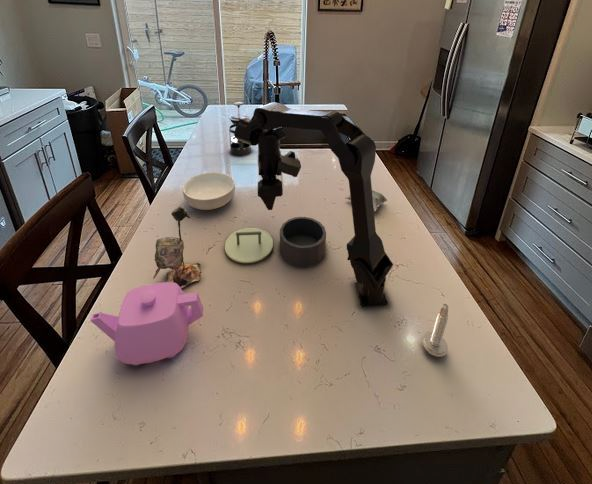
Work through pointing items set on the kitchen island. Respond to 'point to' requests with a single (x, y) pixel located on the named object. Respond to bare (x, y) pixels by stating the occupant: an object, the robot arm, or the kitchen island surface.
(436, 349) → the screw
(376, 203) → the packaged food
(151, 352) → the teapot
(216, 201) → the cereal bowl
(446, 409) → the kitchen island surface
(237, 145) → the french press
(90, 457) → the kitchen island surface
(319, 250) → the container
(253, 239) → the lid
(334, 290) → the kitchen island surface
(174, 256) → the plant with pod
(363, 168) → the robot arm
